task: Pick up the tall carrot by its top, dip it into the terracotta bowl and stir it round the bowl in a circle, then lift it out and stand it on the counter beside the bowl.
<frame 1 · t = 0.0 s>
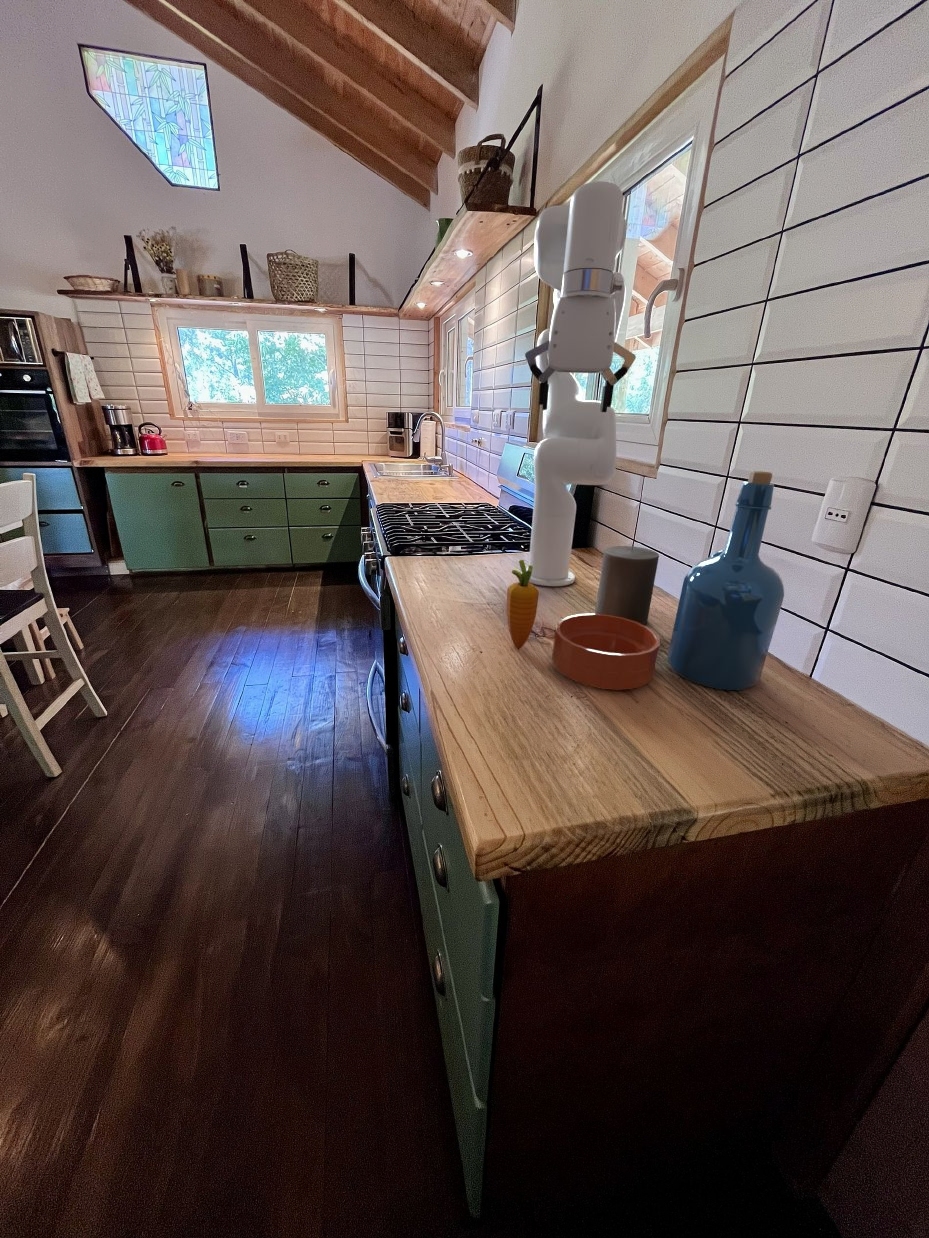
hand: (573, 411, 82), 37 cm above the worktop, tool pointing down, fingers open, 9 cm apart
pillar candle: (619, 622, 95), on the worktop
wine bottle: (710, 672, 77), on the worktop
carrot: (518, 650, 82), on the worktop
bowl: (601, 667, 77), on the worktop
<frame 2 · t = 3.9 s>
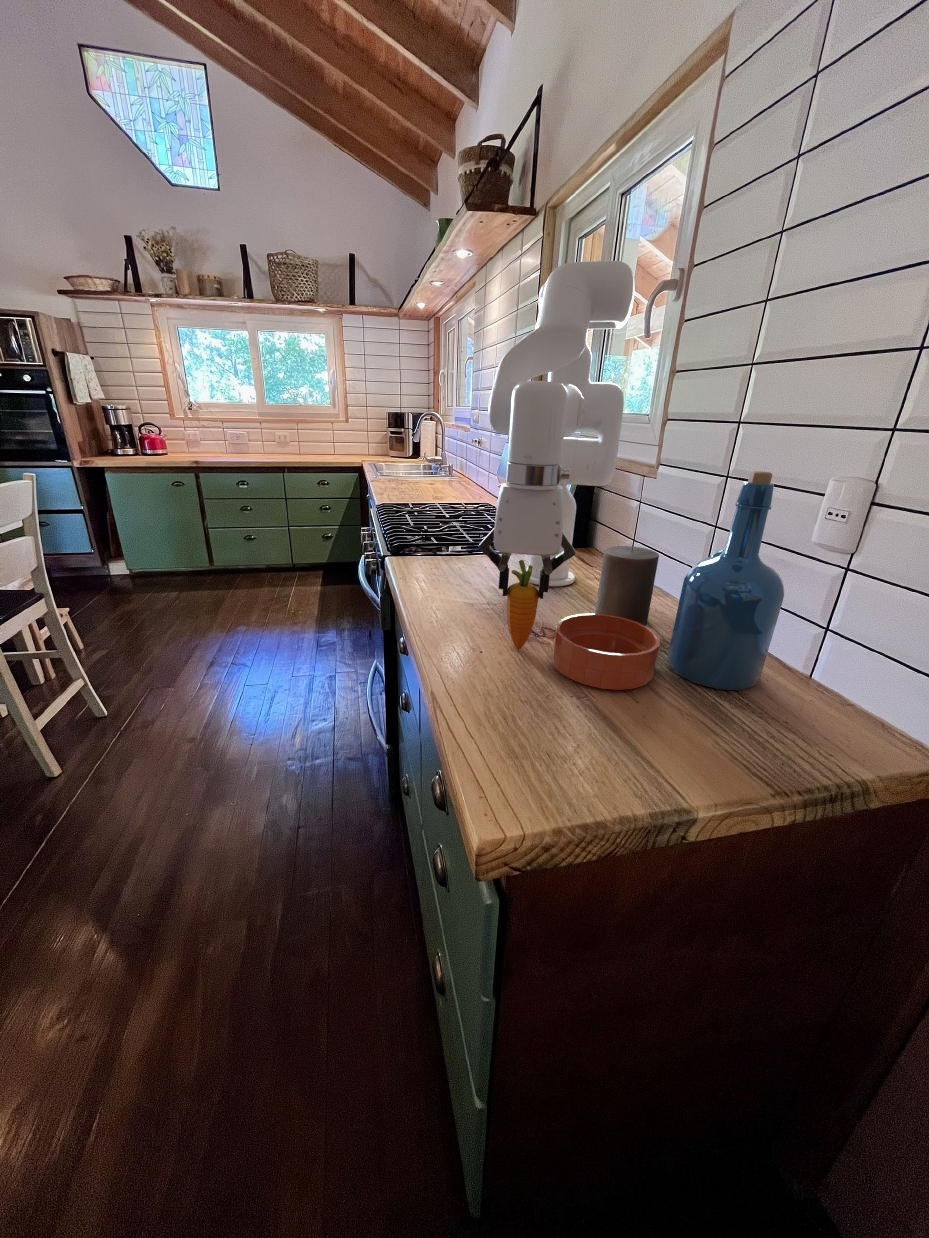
hand: (522, 593, 78), 10 cm above the worktop, tool pointing down, fingers closed on carrot, 5 cm apart
carrot: (518, 650, 82), on the worktop, touching gripper
everything else where it was.
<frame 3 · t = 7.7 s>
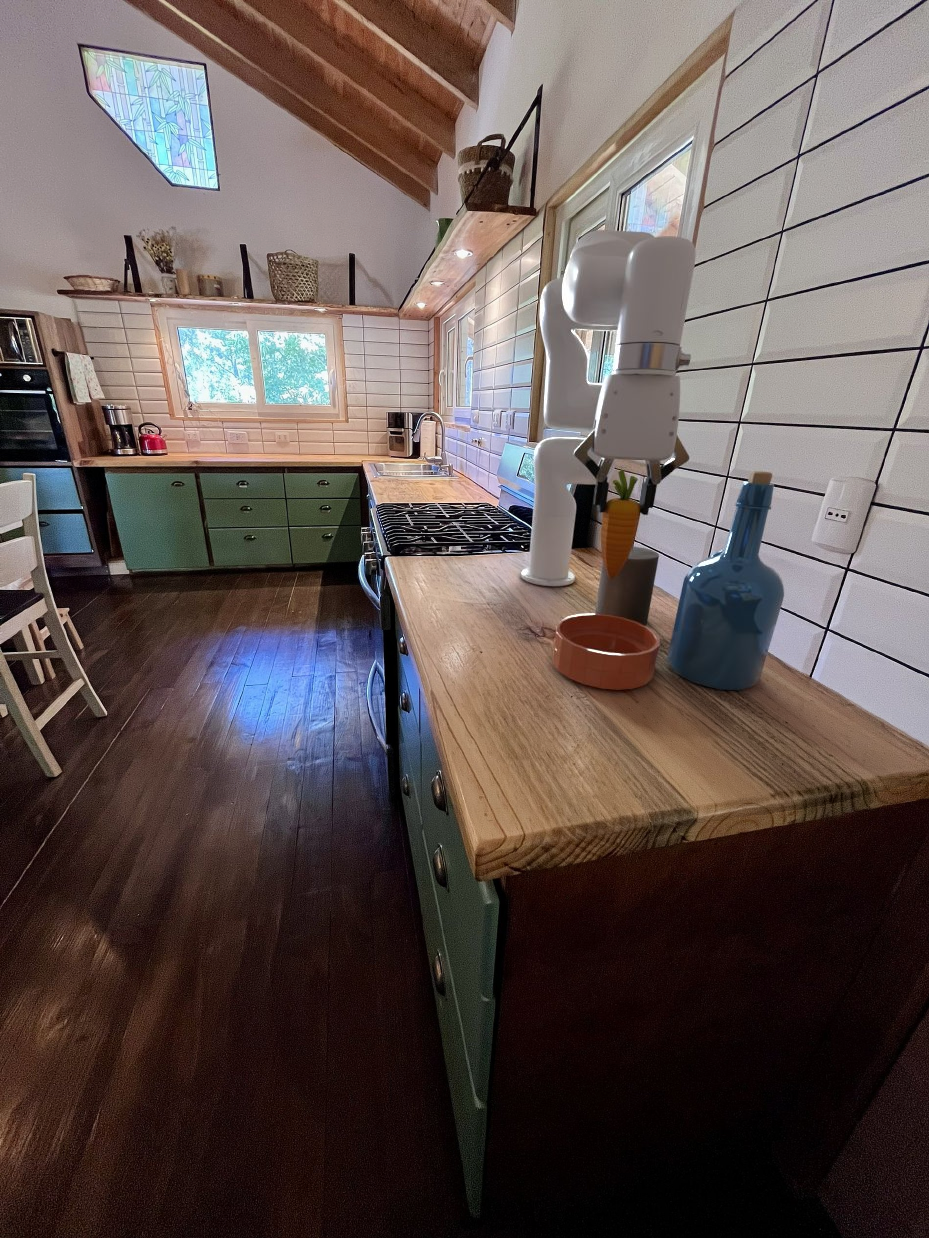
hand: (621, 510, 68), 24 cm above the worktop, tool pointing down, fingers closed on carrot, 5 cm apart
carrot: (611, 580, 72), point 14 cm above the worktop, touching gripper
everything else where it was.
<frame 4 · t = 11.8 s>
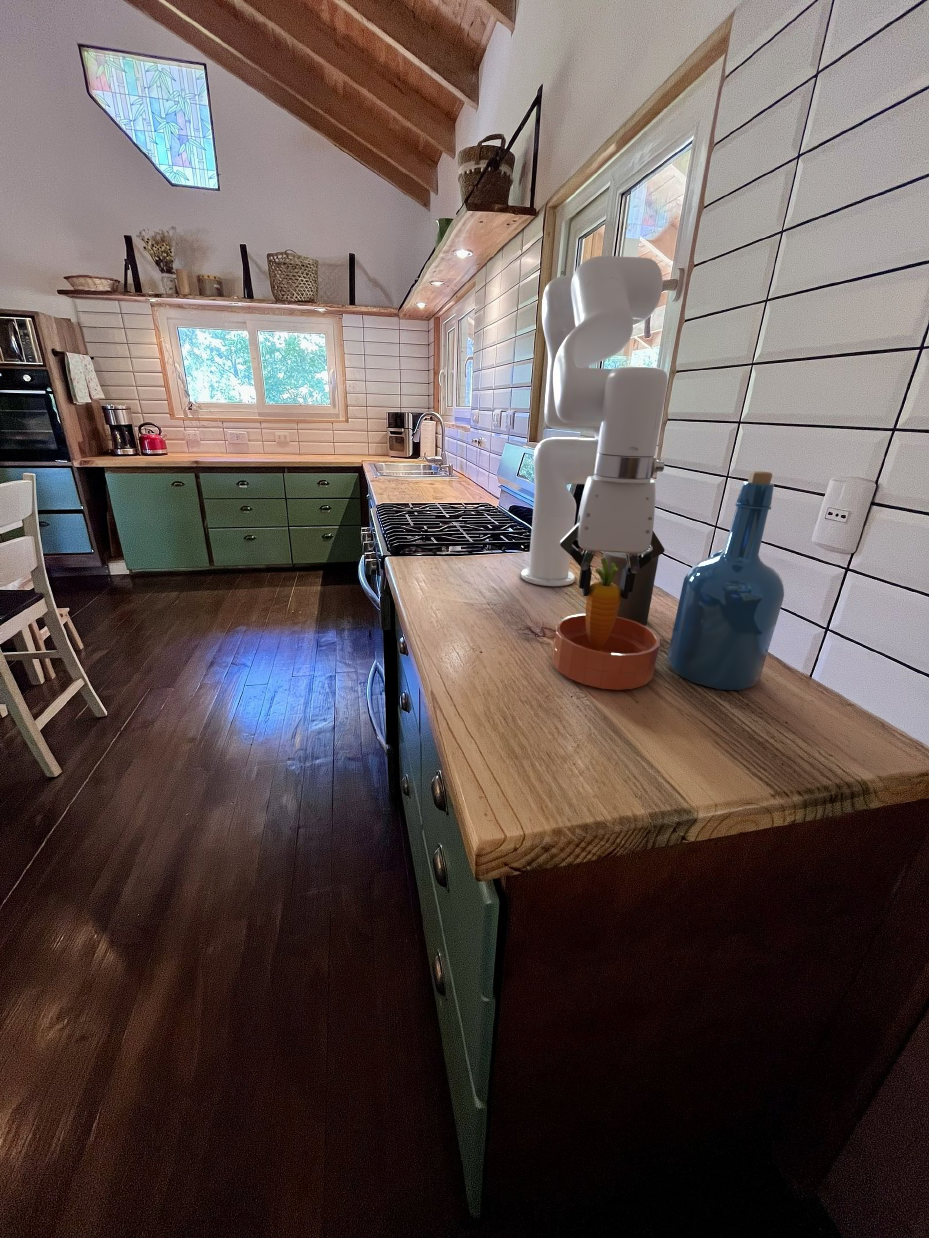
hand: (604, 593, 74), 12 cm above the worktop, tool pointing down, fingers closed on carrot, 5 cm apart
carrot: (595, 653, 78), point 2 cm above the worktop, touching gripper
everything else where it was.
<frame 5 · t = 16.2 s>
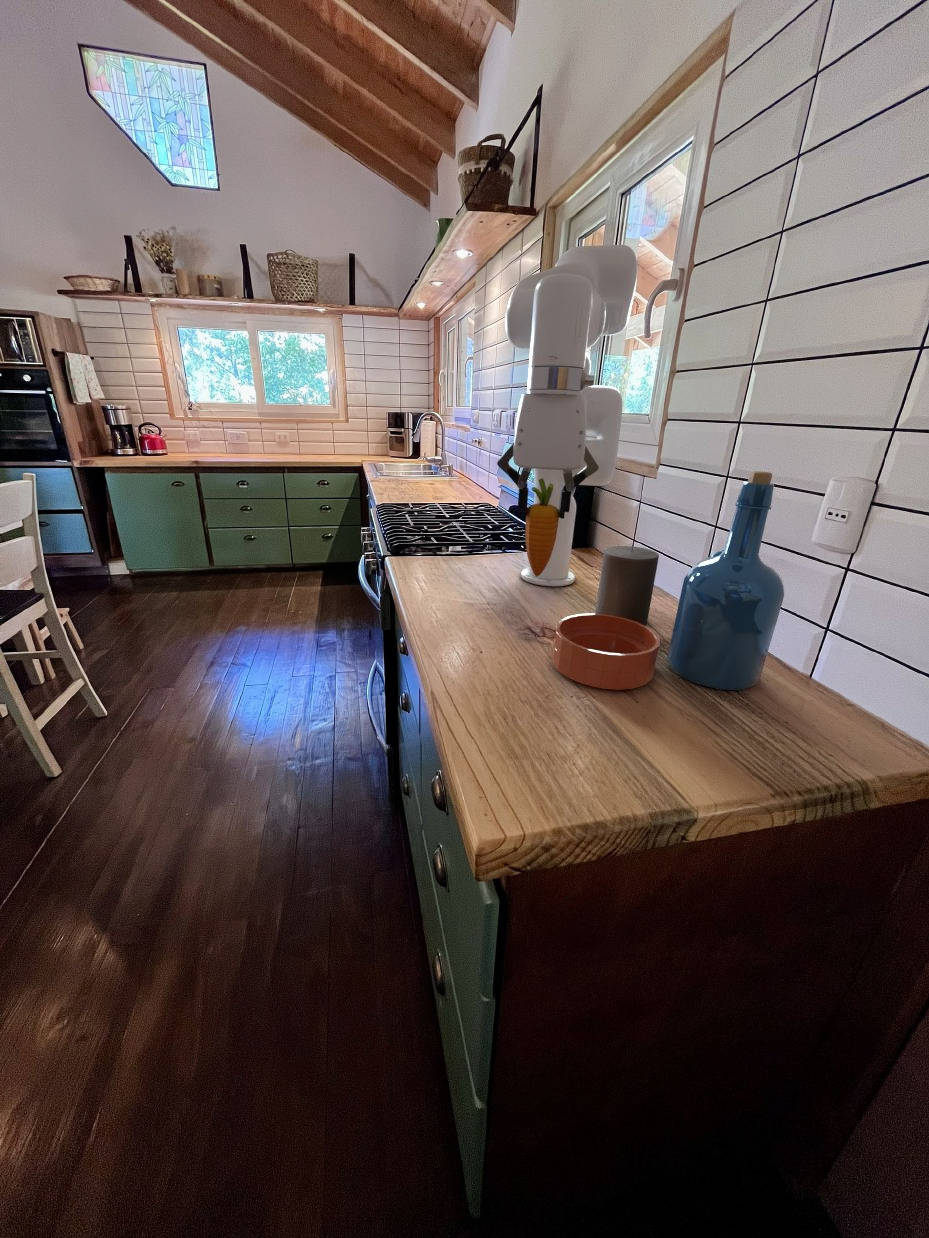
hand: (542, 514, 75), 22 cm above the worktop, tool pointing down, fingers closed on carrot, 5 cm apart
carrot: (536, 577, 79), point 12 cm above the worktop, touching gripper
everything else where it was.
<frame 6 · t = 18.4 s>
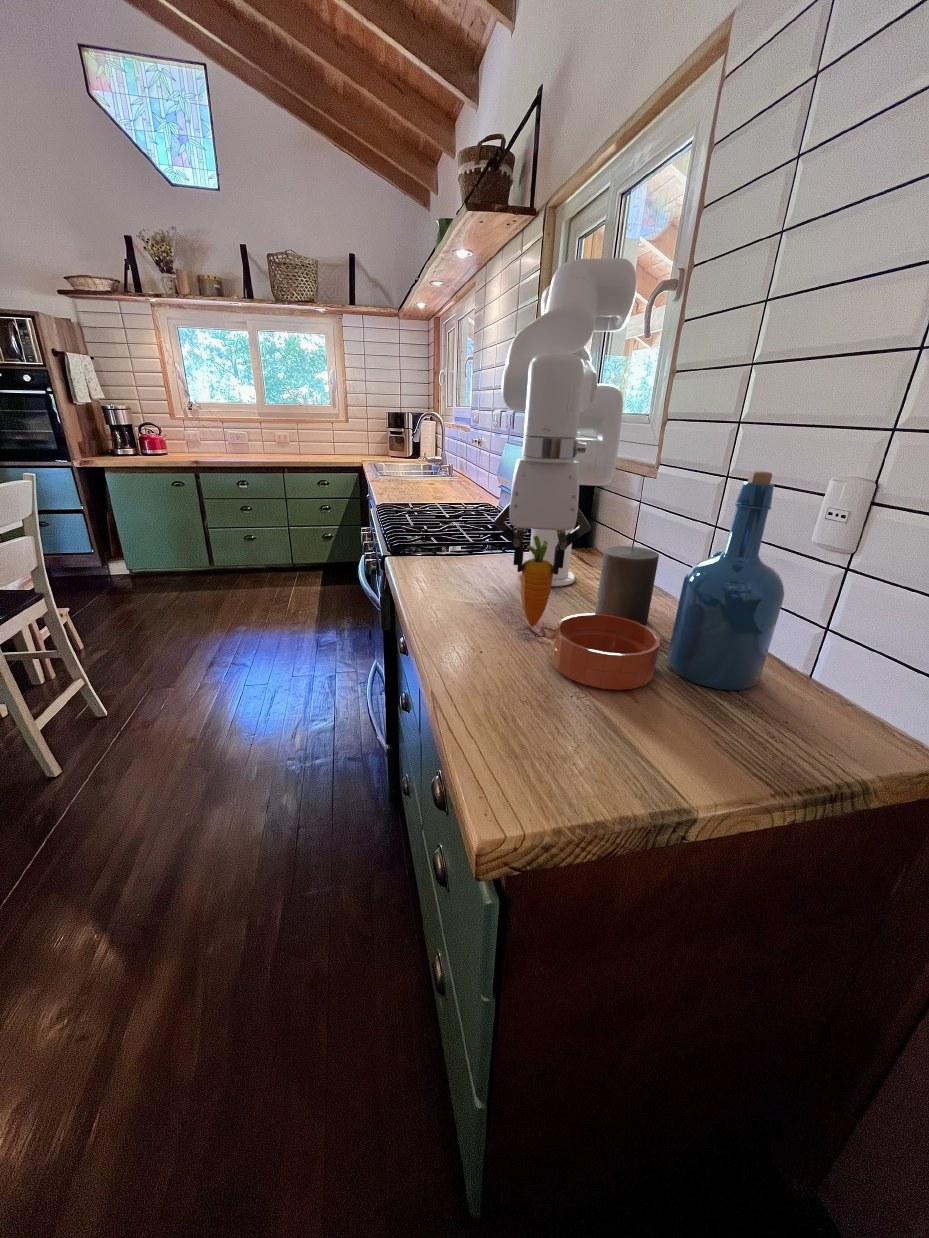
hand: (537, 569, 79), 13 cm above the worktop, tool pointing down, fingers closed on carrot, 5 cm apart
carrot: (532, 627, 83), point 3 cm above the worktop, touching gripper
everything else where it was.
when the fingers open (10 cm above the worktop, at t = 19.9 s): carrot stays where it is, on the worktop.
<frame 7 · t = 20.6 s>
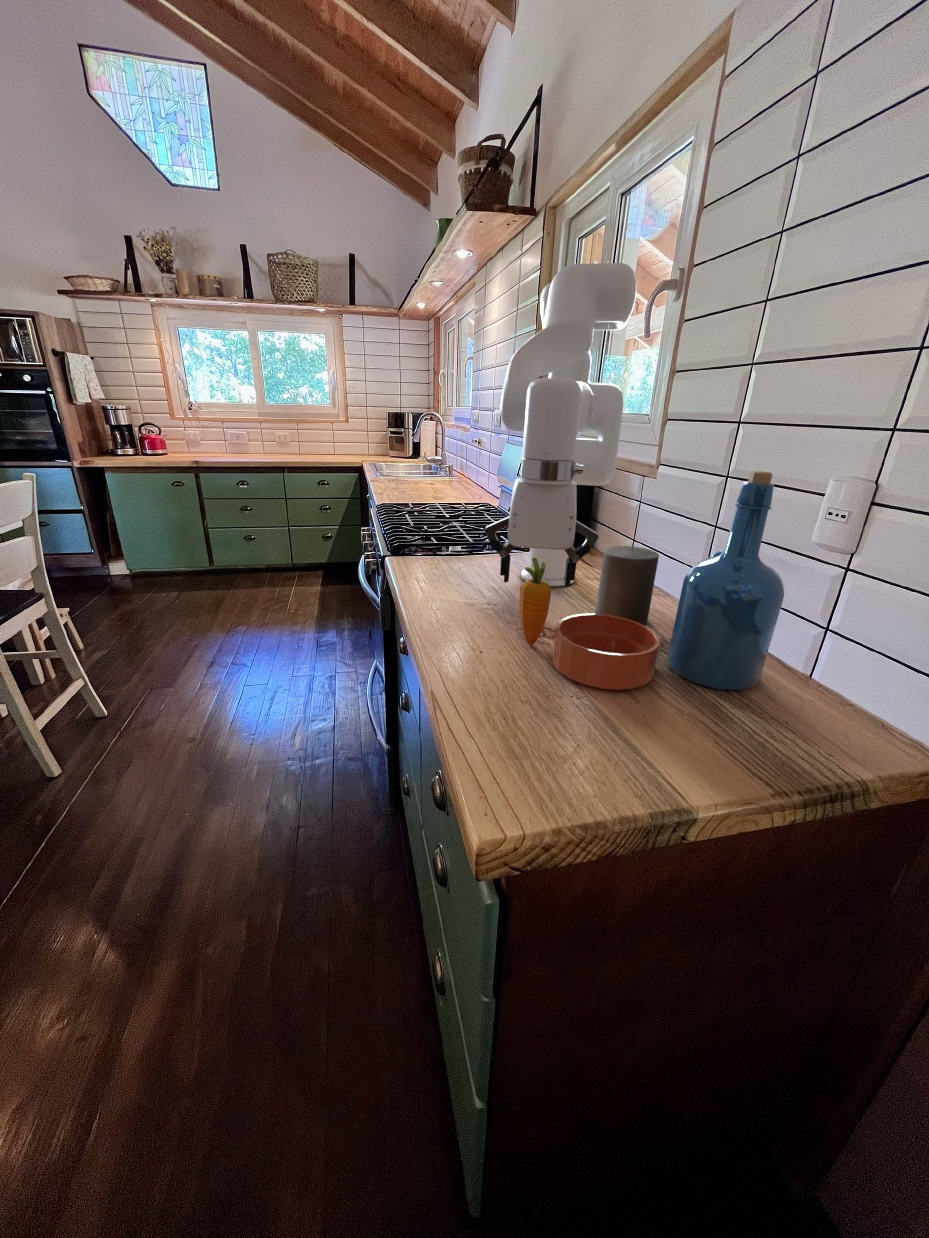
hand: (536, 582, 80), 11 cm above the worktop, tool pointing down, fingers open, 9 cm apart
carrot: (530, 646, 84), on the worktop
everything else where it was.
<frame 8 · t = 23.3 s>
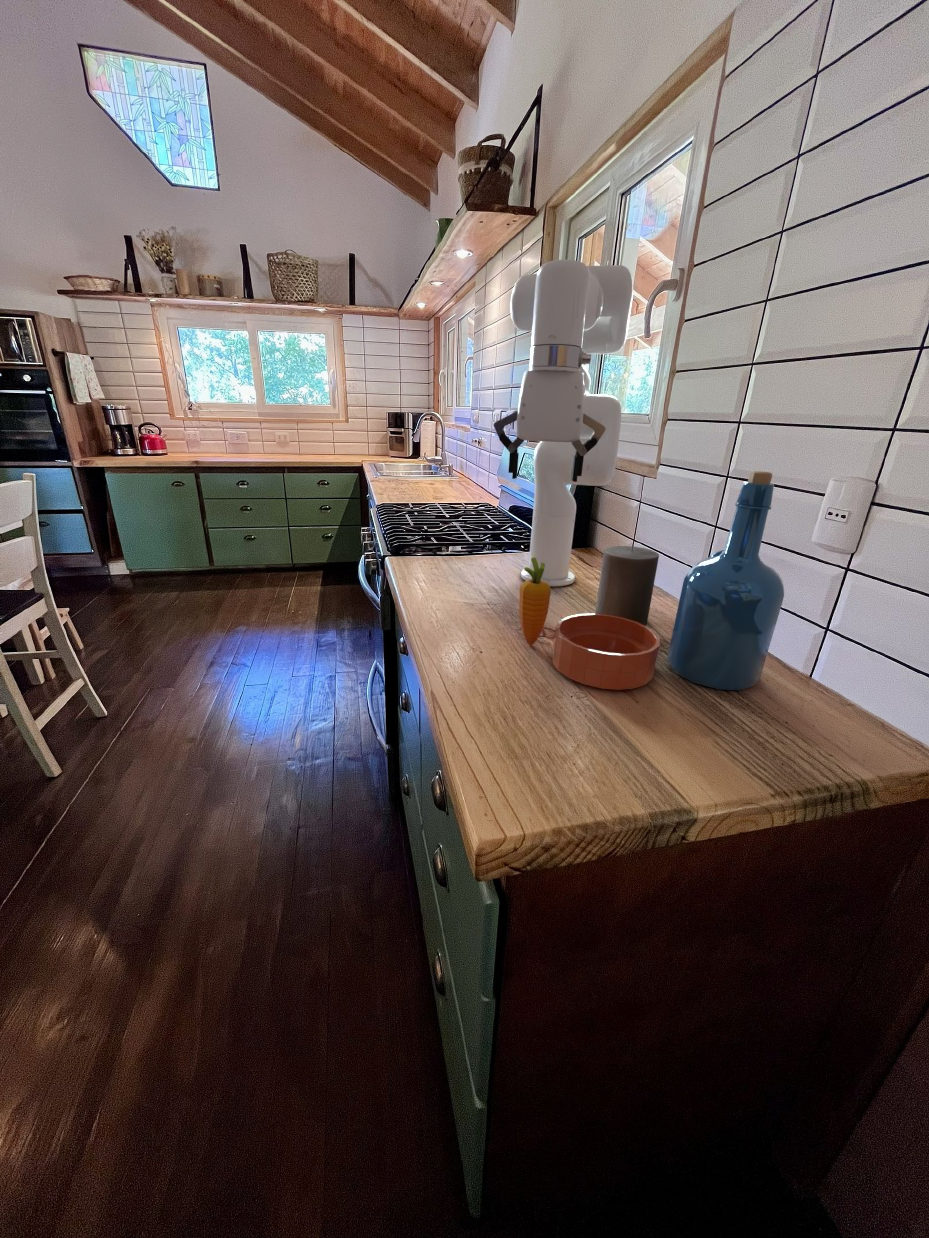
hand: (544, 479, 81), 26 cm above the worktop, tool pointing down, fingers open, 9 cm apart
nothing on the worktop moved.
at the end: carrot 0.1 cm from the target spot, on the worktop; carrot tilted 0°; the gripper is holding nothing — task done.
